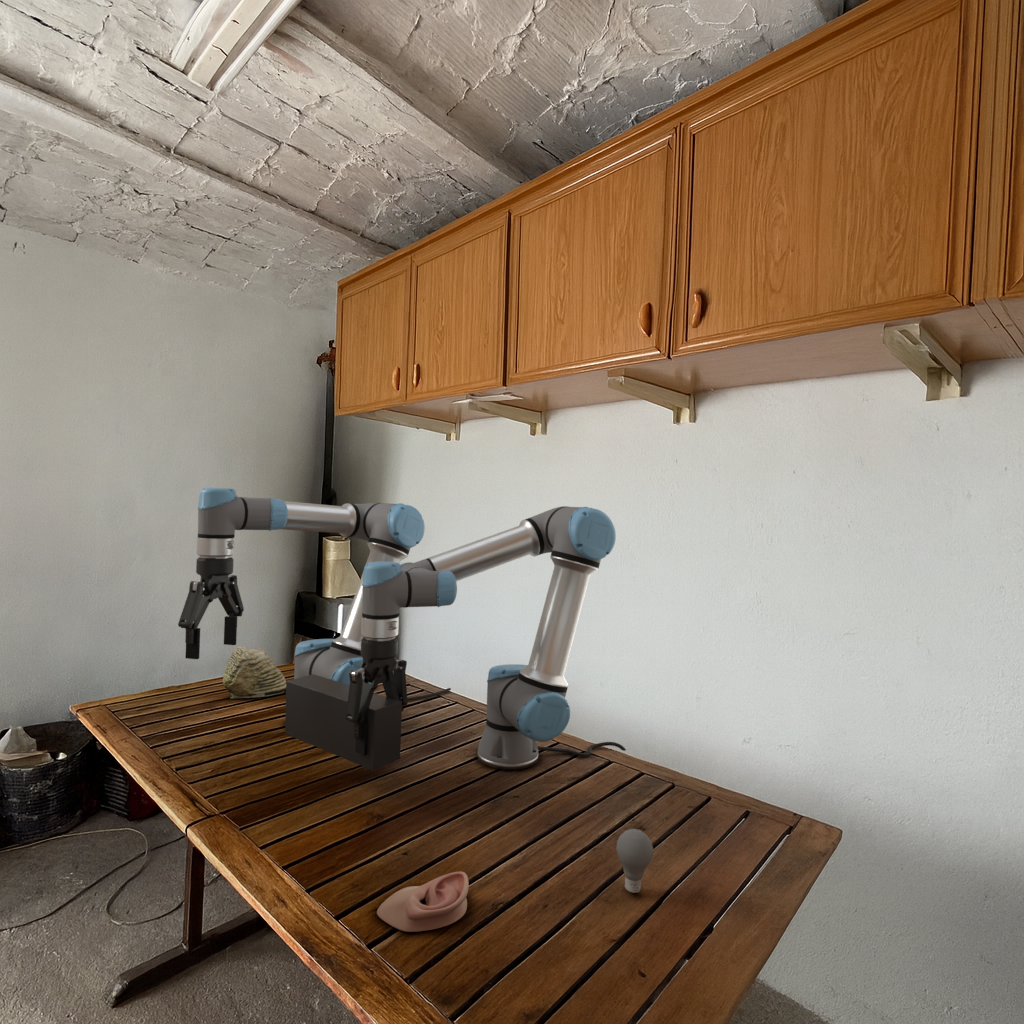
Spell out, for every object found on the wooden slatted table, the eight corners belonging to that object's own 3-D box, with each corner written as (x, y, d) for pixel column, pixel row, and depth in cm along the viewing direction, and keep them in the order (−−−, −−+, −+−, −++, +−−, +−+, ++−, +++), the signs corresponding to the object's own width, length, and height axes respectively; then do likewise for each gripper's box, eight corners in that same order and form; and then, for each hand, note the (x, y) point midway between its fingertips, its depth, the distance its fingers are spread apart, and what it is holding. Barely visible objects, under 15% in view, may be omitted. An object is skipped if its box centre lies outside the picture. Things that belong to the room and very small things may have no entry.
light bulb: (610, 879, 108) (613, 822, 108) (644, 879, 109) (647, 822, 109) (619, 902, 102) (622, 840, 102) (655, 901, 103) (658, 840, 103)
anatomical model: (369, 898, 94) (398, 856, 105) (368, 925, 94) (397, 880, 106) (454, 914, 92) (475, 869, 103) (453, 941, 92) (474, 893, 103)
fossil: (218, 695, 195) (220, 647, 195) (278, 685, 208) (279, 640, 207) (228, 703, 189) (230, 653, 188) (289, 692, 201) (290, 645, 201)
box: (284, 733, 143) (286, 680, 143) (312, 725, 149) (313, 674, 149) (373, 770, 126) (374, 710, 126) (400, 758, 132) (402, 701, 132)
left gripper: (194, 562, 129) (191, 666, 129) (261, 553, 153) (257, 640, 154) (161, 560, 130) (157, 663, 130) (232, 551, 154) (229, 638, 155)
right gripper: (352, 648, 120) (349, 768, 120) (427, 632, 136) (424, 737, 137) (327, 642, 124) (324, 757, 125) (402, 627, 141) (399, 729, 141)
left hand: (212, 651), depth 142 cm, fingers open, 13 cm apart
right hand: (376, 747), depth 131 cm, fingers closed on box, 7 cm apart
